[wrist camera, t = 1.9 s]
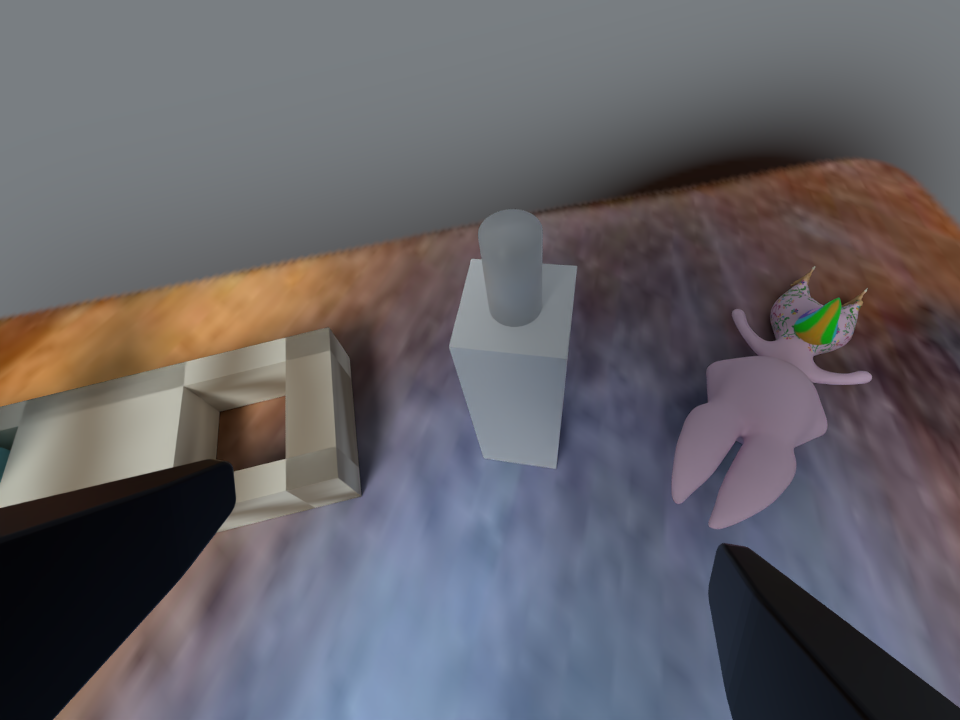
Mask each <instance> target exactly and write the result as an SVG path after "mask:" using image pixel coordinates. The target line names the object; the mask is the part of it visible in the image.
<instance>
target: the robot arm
mask: <svg viewBox="0 0 960 720" xmlns="http://www.w3.org/2000/svg"><path fill="white" fill-rule="evenodd" d="M235 504H236V490H235V480H234V470H233V467H232V465H231V463H229V462H227V461H223V460H217V459H206V460H201V461H197V462H193V463H189V464H185V465H180V466H176V467H172V468H168V469H163V470H159V471H155V472H151V473H146V474H142V475H138V476H134V477H129V478H125V479H121V480H117V481H112V482H108V483H104V484H100V485H95V486H91V487H87V488H83V489H78V490H74V491H70V492H66V493H61V494H57V495H53V496H49V497H44V498H40V499H36V500H32V501H27V502H23V503H19V504H15V505H10V506H6V507H2V508H0V720H53V719H54V718H55V717H56V716H57V715H58V714H59V713H60V711H61V710H62V709H63V708H64V707H65V706H66V705H67V704H68V703H69V702H70V700H71V699H72V698H73V697H74V696H75V695H76V694H77V693H78V692H79V691H80V689H81V688H82V687H83V686H84V685H85V684H86V683H87V682H88V681H89V679H90V678H91V677H92V676H93V675H94V674H95V673H96V672H97V671H98V670H99V668H100V667H101V666H102V665H103V664H104V663H105V662H106V661H107V660H108V659H109V657H110V656H111V655H112V654H113V653H114V652H115V651H116V650H117V649H118V648H119V646H120V645H121V644H122V643H123V642H124V641H125V640H126V639H127V638H128V637H129V635H130V634H131V633H132V632H133V631H134V630H135V629H136V628H137V627H138V625H139V624H140V623H141V622H142V621H143V620H144V619H145V618H146V617H147V616H148V614H149V613H150V612H151V611H152V610H153V609H154V608H155V607H156V606H157V605H158V603H159V602H160V601H161V600H162V599H163V598H164V597H165V596H166V595H167V594H168V592H169V591H170V590H171V589H172V588H173V587H174V586H175V585H176V583H177V582H178V581H179V580H180V579H181V578H182V576H183V575H184V574H185V573H186V571H187V570H188V569H189V568H190V566H191V565H192V564H193V562H194V561H195V560H196V559H197V557H198V556H199V555H200V553H201V552H202V551H203V549H204V548H205V547H206V545H207V544H208V543H209V542H210V540H211V539H212V538H213V536H214V535H215V534H216V532H217V531H218V530H219V528H220V527H221V526H222V525H223V523H224V522H225V521H226V519H227V518H228V517H229V515H230V514H231V513H232V511H233V509H234V507H235ZM708 595H709V604H710V609H711V615H712V620H713V626H714V631H715V637H716V642H717V648H718V654H719V659H720V665H721V670H722V676H723V681H724V686H725V691H726V696H727V700H728V704H729V708H730V711H731V715H732V719H733V720H960V708H959V707H958V706H956V705H955V704H954V703H952V702H951V701H950V700H948V699H947V698H946V697H945V696H943V695H942V694H941V693H939V692H938V691H937V690H935V689H934V688H933V687H931V686H930V685H929V684H927V683H926V682H925V681H923V680H922V679H921V678H920V677H918V676H917V675H916V674H914V673H913V672H912V671H910V670H909V669H908V668H906V667H905V666H904V665H902V664H901V663H900V662H898V661H897V660H896V659H895V658H893V657H892V656H891V655H889V654H888V653H887V652H885V651H884V650H883V649H881V648H880V647H879V646H877V645H876V644H875V643H873V642H872V641H871V640H869V639H868V638H867V637H866V636H864V635H863V634H862V633H860V632H859V631H858V630H856V629H855V628H854V627H852V626H851V625H850V624H848V623H847V622H846V621H844V620H843V619H842V618H841V617H839V616H838V615H837V614H835V613H834V612H833V611H831V610H830V609H829V608H827V607H826V606H825V605H823V604H822V603H821V602H819V601H818V600H817V599H815V598H814V597H813V596H812V595H810V594H809V593H808V592H806V591H805V590H804V589H802V588H801V587H800V586H798V585H797V584H796V583H794V582H793V581H792V580H790V579H789V578H788V577H787V576H785V575H784V574H783V573H781V572H780V571H779V570H777V569H776V568H775V567H773V566H772V565H771V564H769V563H768V562H767V561H765V560H764V559H763V558H762V557H760V556H759V555H758V554H756V553H755V552H754V551H752V550H751V549H750V548H748V547H745V546H739V545H733V544H727V543H722V544H720V545H719V547H718V548H717V551H716V555H715V560H714V564H713V569H712V573H711V578H710V582H709V590H708Z"/></svg>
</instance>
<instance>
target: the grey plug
mask: <svg viewBox="0 0 960 720" xmlns="http://www.w3.org/2000/svg"><path fill="white" fill-rule="evenodd" d="M542 238H543V230H542V225H541V223H540V221H539V220H538V219H537V218H536V217H535V216H534V215H533V214H531V213H529V212H527V211H523V210H518V209H507V210H502V211H498V212H496V213H494V214H492V215H490V216H489V217H487V218H486V219H485V220H484V221H483V222H482V224H481V225H480V227H479V230H478V239H479V246H480V252H481V259H482V260H481V259H471V262H470V266H469V270H468V274H467V278H466V282H465V286H464V290H463V294H462V298H461V302H460V306H459V309H458V313H457V317H456V321H455V325H454V329H453V333H452V337H451V341H450V345H449V348H450V352H451V355H452V358H453V361H454V364H455V368H456V371H457V374H458V377H459V381H460V384H461V387H462V390H463V393H464V397H465V400H466V403H467V406H468V409H469V413H470V416H471V419H472V422H473V425H474V429H475V432H476V435H477V438H478V442H479V445H480V448H481V451H482V454H483V458H484V459H491V460H498V461H505V462H512V463H518V464H525V465H532V466H539V467H546V468H552V469H556V466H557V457H558V447H559V438H560V429H561V420H562V411H563V402H564V392H565V382H566V372H567V362H568V352H569V342H570V332H571V322H572V313H573V303H574V293H575V283H576V273H577V266H570V265H555V264H542Z"/></svg>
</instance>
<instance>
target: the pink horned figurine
mask: <svg viewBox="0 0 960 720" xmlns="http://www.w3.org/2000/svg"><path fill="white" fill-rule="evenodd" d="M814 268H815V266H814V267H813V268H812V269H811V271H810V272H809V273H808V274H806V275H805V276H804V277H802V278H801V279H799V280H797V281H795V282H794V284H791V285H790V286H793V285H795V286H794V287H792V288H791V289H790V290H788V291H787V292H786V293H784V294H783V295H782V296H780V297H779V298H778V300H777V301H776V302H775V303H774V305H773V307H772V309H771V314H770V320H771V325H772V328H773V332H774V335H775V338H776V341H766V340H763V339H762V338H760V337H759V336H758V335H757V334H756V333H755V332H754V331H753V330H752V329H751V328H750V326H749V325H748V323H747V320H746V316H745V313H744V312H743V311H742V310H740V309H735V310H733V312H732V318H733V320H734V322H735V324H736V326H737V328H738V330H739V332H740V333H741V335H742V337H743V338H744V340H745V341H746V342H747V344H748V345H749V346H750V347H751V349H752V350H753V351H754V352H755V353H756V354H757V355H758V356H750V357H742V358H734V359H727V360H721V361H717V362H714V363H712V364H711V365H709V366H708V368H707V371H706V377H707V396H708V403H705V404H702V405H699V406H697V407H696V408H694V409H693V410H692V411H691V412H690V413H689V415H688V416H687V418H686V420H685V422H684V425H683V428H682V431H681V433H680V436H679V439H678V442H677V446H676V450H675V456H674V463H673V471H672V481H671V490H672V497H673V500H674V502H675V503H676V504H681V503H683V502H684V501H685V500H686V499H687V498H688V497H689V496H690V495H691V494H692V493H693V492H694V491H695V490H696V489H697V488H699V487H700V486H701V485H702V484H703V483H704V482H705V481H706V480H707V479H708V478H709V477H710V476H711V475H712V474H713V473H714V472H715V470H716V469H717V468H718V466H719V465H720V463H721V462H722V460H723V459H724V457H725V456H726V455H727V453H728V452H729V450H730V449H731V447H732V446H733V444H734V443H735V441H738V442H739V443H741V444H743V445H742V446H741V448H740V450H739V451H738V453H737V455H736V457H735V459H734V460H733V462H732V464H731V466H730V468H729V470H728V472H727V474H726V476H725V478H724V480H723V482H722V485H721V487H720V489H719V492H718V496H717V499H716V502H715V506H714V509H713V511H712V514H711V517H710V519H709V526H710V527H711V528H713V529H722V528H726V527H729V526H731V525H734V524H737V523H739V522H741V521H743V520H745V519H747V518H749V517H751V516H753V515H755V514H757V513H758V512H760V511H762V510H763V509H765V508H766V507H768V506H769V505H770V504H772V503H773V502H774V501H775V500H776V499H777V498H778V497H779V496H780V495H781V494H782V492H783V491H784V490H785V489H786V488H787V487H788V486H789V484H790V483H791V481H792V479H793V477H794V475H795V472H796V458H795V454H794V448H795V447H797V446H799V445H802V444H804V443H806V442H808V441H810V440H812V439H815V438H817V437H820V436H822V435H823V434H825V432H826V430H827V419H826V415H825V413H824V410H823V407H822V404H821V401H820V398H819V395H818V393H817V390H816V388H815V386H814V385H813V383H820V384H832V385H852V384H863V383H868V382H870V381H871V379H872V376H871V374H870V373H868V372H866V371H857V372H853V373H849V374H840V373H833V372H828V371H825V370H822V369H820V368H819V367H818V366H817V365H816V364H815V363H814V361H813V356H815V355H818V354H822V353H826V352H830V351H833V350H836V349H838V348H840V347H842V346H844V345H845V344H847V343H848V342H849V341H850V339H851V337H852V335H853V333H854V330H855V326H856V322H857V318H858V311H859V308H860V307H861V305H862V304H863V301H862V300H861V299H862V297H863V295H864V294H865V293H866V291H867V289H868V288H867V289H866V290H864V291H863V292H862V294H861V295H859V296H857V297H856V298H854V299H853V300H851V301H850V302H848V303H845V304H844V305H841V301H840V298H837V299H834V300H832V301H830V302H828V303H827V304H825V305H824V306H823V305H822V304H820V303H819V302H817V301H816V300H814V299H813V298H811V296H810V292H809V288H808V283H809V279H810V277H811V273H812V272H813V271H814ZM812 382H813V383H812Z"/></svg>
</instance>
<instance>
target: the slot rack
mask: <svg viewBox="0 0 960 720" xmlns="http://www.w3.org/2000/svg"><path fill="white" fill-rule="evenodd" d="M282 396H286V459H283V460H279V461H275V462H271V463H267V464H263V465H259V466H255V467H250V468H246V469H242V470H238V471H234V480H235V490H236V504H235V507H234V509H233V511H232V513H231V514H230V515H229V517H228V518H227V519H226V521H225V522H224V523H223V525H222V526H221V527H220V528H219V530H218V531H217V532H220V531H224V530H229V529H233V528H237V527H241V526H245V525H249V524H253V523H257V522H261V521H265V520H269V519H273V518H277V517H281V516H285V515H289V514H293V513H297V512H301V511H305V510H309V509H313V508H317V507H321V506H325V505H329V504H333V503H337V502H341V501H345V500H349V499H353V498H357V497H361V485H360V473H359V461H358V450H357V438H356V426H355V415H354V403H353V391H352V380H351V368H350V358H349V356H348V355H347V353H346V352H345V350H344V349H343V347H342V346H341V344H340V343H339V341H338V340H337V339H336V337H335V336H334V334H333V333H332V331H331V330H330V328H329V327H328V328H324V329H319V330H315V331H311V332H307V333H303V334H299V335H295V336H291V337H286V338H282V339H278V340H274V341H270V342H266V343H262V344H258V345H253V346H249V347H245V348H241V349H237V350H233V351H229V352H225V353H220V354H216V355H212V356H208V357H204V358H200V359H196V360H192V361H187V362H183V363H179V364H175V365H171V366H167V367H163V368H159V369H154V370H150V371H146V372H142V373H138V374H134V375H130V376H126V377H121V378H117V379H113V380H109V381H105V382H101V383H97V384H93V385H88V386H84V387H80V388H76V389H72V390H68V391H64V392H60V393H56V394H51V395H47V396H43V397H39V398H35V399H31V400H27V401H23V402H18V403H14V404H10V405H6V406H2V407H0V447H2V448H4V449H7V450H10V454H9V457H8V461H7V464H6V467H5V470H4V473H3V476H2V479H1V482H0V508H2V507H6V506H10V505H15V504H19V503H23V502H27V501H32V500H36V499H40V498H44V497H49V496H53V495H57V494H61V493H66V492H70V491H74V490H78V489H83V488H87V487H91V486H95V485H100V484H104V483H108V482H112V481H117V480H121V479H125V478H129V477H134V476H138V475H142V474H146V473H151V472H155V471H159V470H163V469H168V468H172V467H176V466H180V465H185V464H189V463H193V462H197V461H201V460H206V459H216V453H217V441H218V428H219V415H220V411H225V410H229V409H233V408H237V407H241V406H245V405H249V404H253V403H257V402H261V401H265V400H270V399H274V398H278V397H282Z"/></svg>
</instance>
